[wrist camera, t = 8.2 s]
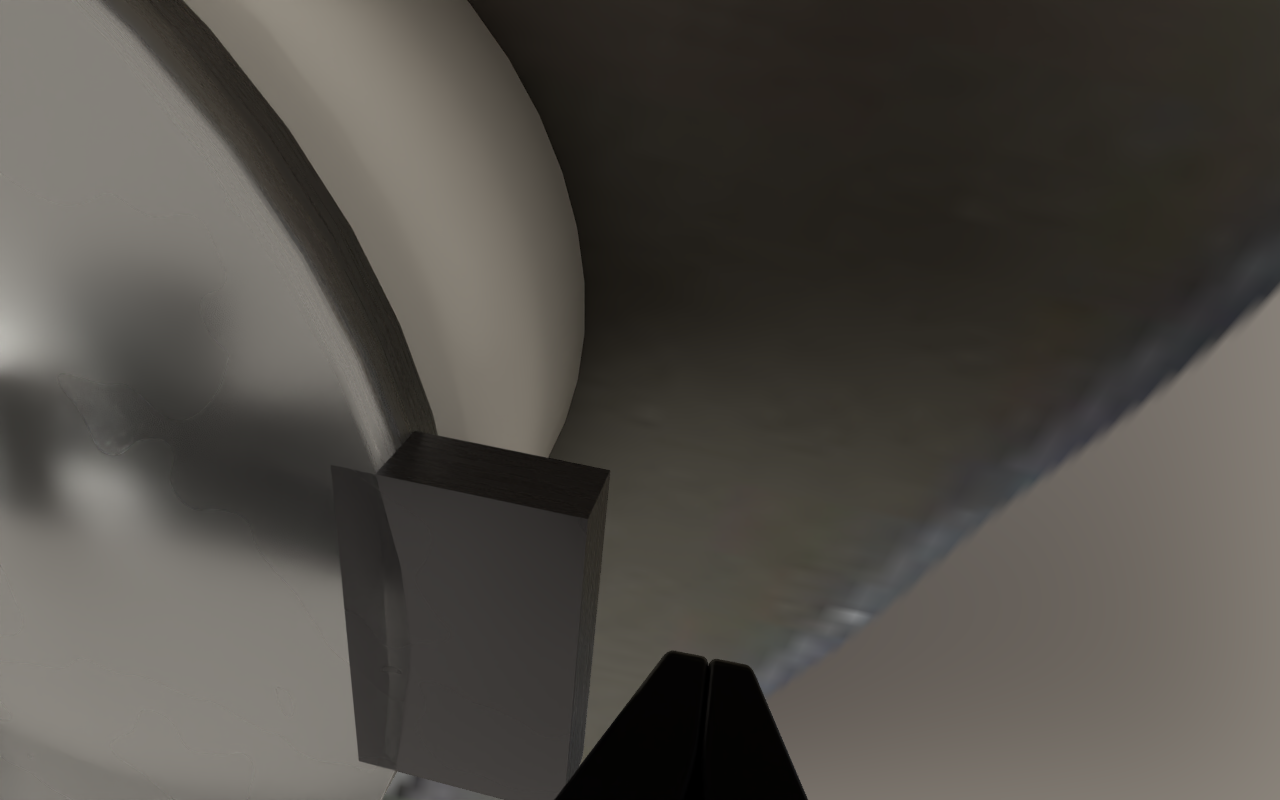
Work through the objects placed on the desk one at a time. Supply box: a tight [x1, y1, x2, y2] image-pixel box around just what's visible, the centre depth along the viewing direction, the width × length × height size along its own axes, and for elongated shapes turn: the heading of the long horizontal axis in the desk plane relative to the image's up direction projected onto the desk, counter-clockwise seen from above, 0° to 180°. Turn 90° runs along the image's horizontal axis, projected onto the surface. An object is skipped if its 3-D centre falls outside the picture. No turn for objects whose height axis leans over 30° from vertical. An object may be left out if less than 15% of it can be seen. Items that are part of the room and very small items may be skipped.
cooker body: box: [183, 0, 585, 458], centre depth 14 cm, size 16×20×6 cm
